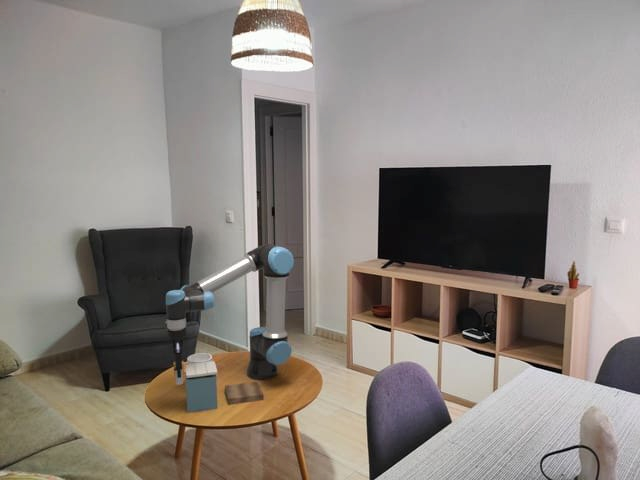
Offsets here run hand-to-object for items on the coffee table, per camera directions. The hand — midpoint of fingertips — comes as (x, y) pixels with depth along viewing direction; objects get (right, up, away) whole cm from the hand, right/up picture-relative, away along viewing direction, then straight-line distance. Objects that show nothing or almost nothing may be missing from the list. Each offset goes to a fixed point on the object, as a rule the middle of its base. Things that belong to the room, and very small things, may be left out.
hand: (179, 382), depth 207 cm
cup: (+4, -9, +21) cm, 23 cm away
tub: (+8, -11, +4) cm, 14 cm away
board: (+25, -9, +12) cm, 29 cm away
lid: (+6, +3, +2) cm, 7 cm away
